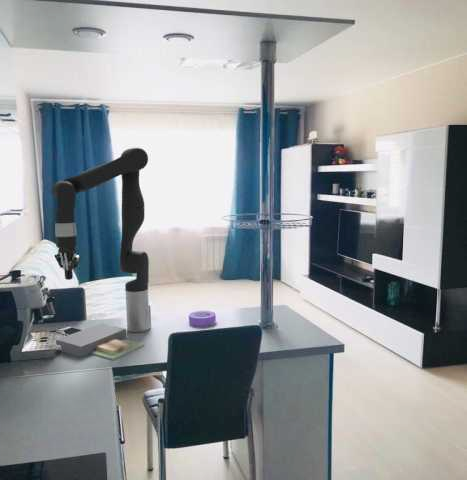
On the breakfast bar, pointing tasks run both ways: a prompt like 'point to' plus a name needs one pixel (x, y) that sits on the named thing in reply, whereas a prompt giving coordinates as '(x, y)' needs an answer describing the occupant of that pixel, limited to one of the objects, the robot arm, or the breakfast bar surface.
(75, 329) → the smartphone
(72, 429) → the breakfast bar surface
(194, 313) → the masking tape
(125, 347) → the cork coaster
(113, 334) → the gray rectangular box
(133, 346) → the sage mat
